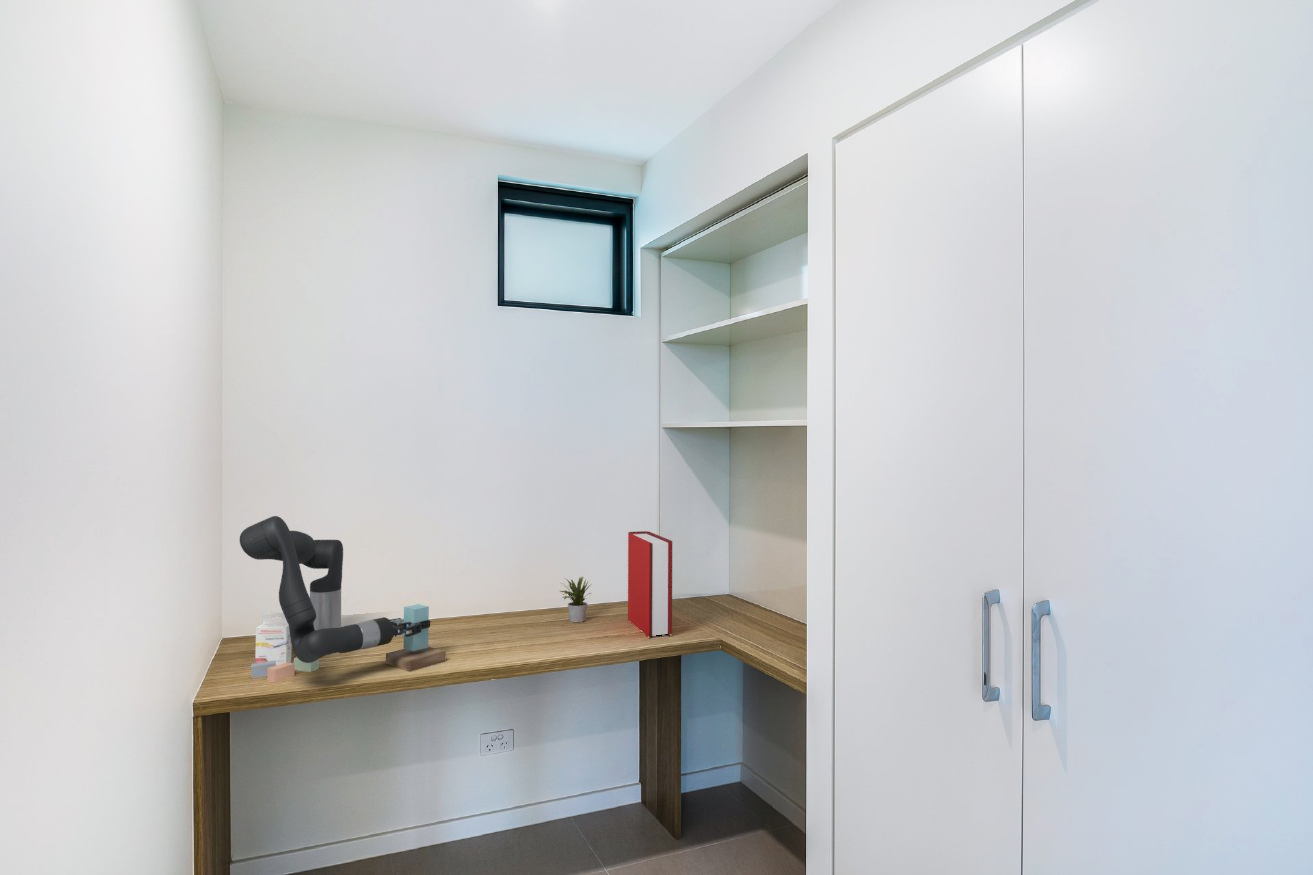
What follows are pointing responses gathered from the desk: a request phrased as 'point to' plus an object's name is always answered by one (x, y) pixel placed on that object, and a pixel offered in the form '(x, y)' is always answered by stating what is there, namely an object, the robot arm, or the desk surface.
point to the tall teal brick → (414, 615)
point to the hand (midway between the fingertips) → (423, 622)
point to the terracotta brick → (281, 672)
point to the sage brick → (306, 665)
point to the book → (650, 582)
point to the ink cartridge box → (273, 640)
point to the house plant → (577, 601)
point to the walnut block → (415, 658)
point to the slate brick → (261, 669)
